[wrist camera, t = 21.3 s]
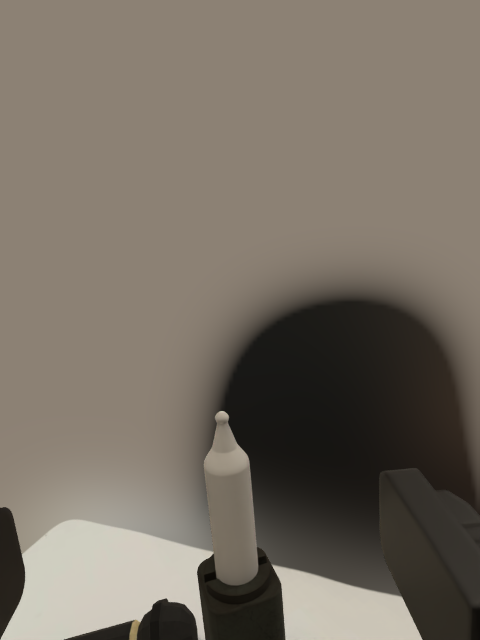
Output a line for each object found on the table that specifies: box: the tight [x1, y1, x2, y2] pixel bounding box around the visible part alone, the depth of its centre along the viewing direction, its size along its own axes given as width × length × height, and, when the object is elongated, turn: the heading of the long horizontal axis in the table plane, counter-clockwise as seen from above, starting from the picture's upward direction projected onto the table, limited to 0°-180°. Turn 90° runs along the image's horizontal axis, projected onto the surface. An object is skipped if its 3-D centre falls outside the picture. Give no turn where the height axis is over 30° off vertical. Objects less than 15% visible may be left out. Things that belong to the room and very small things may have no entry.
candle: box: [197, 411, 285, 640], centre depth 31 cm, size 5×5×25 cm
